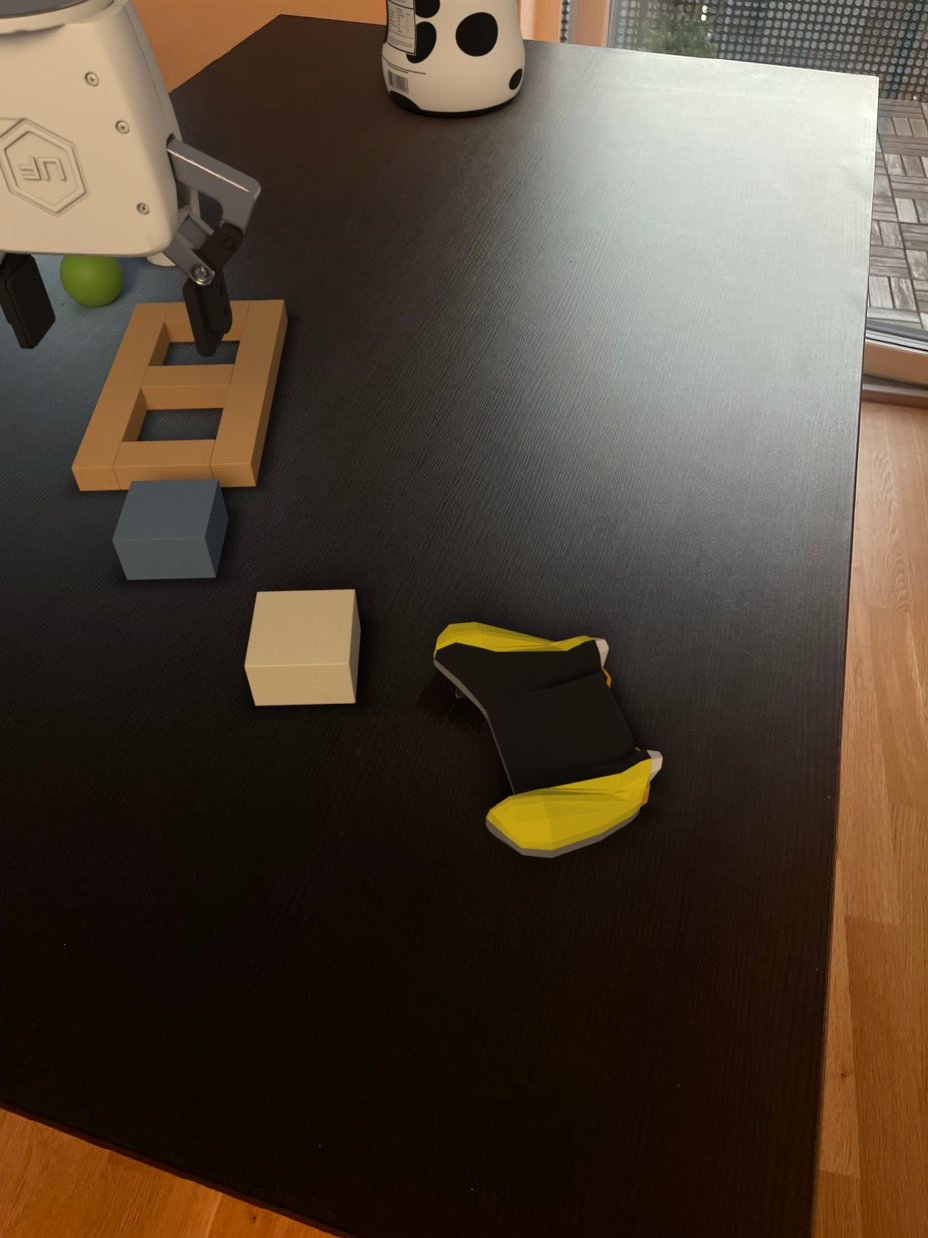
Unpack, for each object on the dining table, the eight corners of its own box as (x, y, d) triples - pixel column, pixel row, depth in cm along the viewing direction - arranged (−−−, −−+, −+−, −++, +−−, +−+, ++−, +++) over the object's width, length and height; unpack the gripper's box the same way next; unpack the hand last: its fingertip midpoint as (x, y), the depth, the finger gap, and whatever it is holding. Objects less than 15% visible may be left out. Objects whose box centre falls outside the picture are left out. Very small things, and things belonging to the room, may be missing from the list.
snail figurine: (118, 323, 90) (78, 191, 81) (58, 313, 91) (12, 182, 83) (150, 294, 93) (115, 164, 85) (91, 284, 95) (50, 155, 86)
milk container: (535, 80, 129) (540, -87, 115) (508, 134, 117) (511, -45, 104) (406, 72, 131) (396, -92, 118) (367, 123, 120) (352, -52, 107)
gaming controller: (496, 895, 51) (677, 848, 53) (497, 840, 47) (693, 791, 49) (428, 677, 61) (582, 644, 63) (424, 617, 57) (588, 582, 59)
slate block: (128, 583, 67) (111, 540, 64) (146, 524, 71) (131, 480, 68) (217, 581, 67) (204, 537, 64) (229, 522, 71) (218, 478, 68)
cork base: (81, 494, 74) (70, 467, 72) (143, 328, 89) (136, 302, 87) (256, 490, 74) (250, 463, 72) (288, 324, 89) (284, 298, 87)
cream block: (256, 709, 60) (244, 666, 57) (267, 635, 64) (257, 591, 61) (356, 706, 60) (349, 663, 57) (361, 632, 64) (355, 588, 61)
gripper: (-241, -9, 39) (-61, 371, 51) (188, -6, 37) (267, 386, 50) (-140, -60, 44) (2, 297, 56) (242, -60, 42) (301, 308, 55)
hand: (126, 338), depth 53 cm, fingers open, 9 cm apart
